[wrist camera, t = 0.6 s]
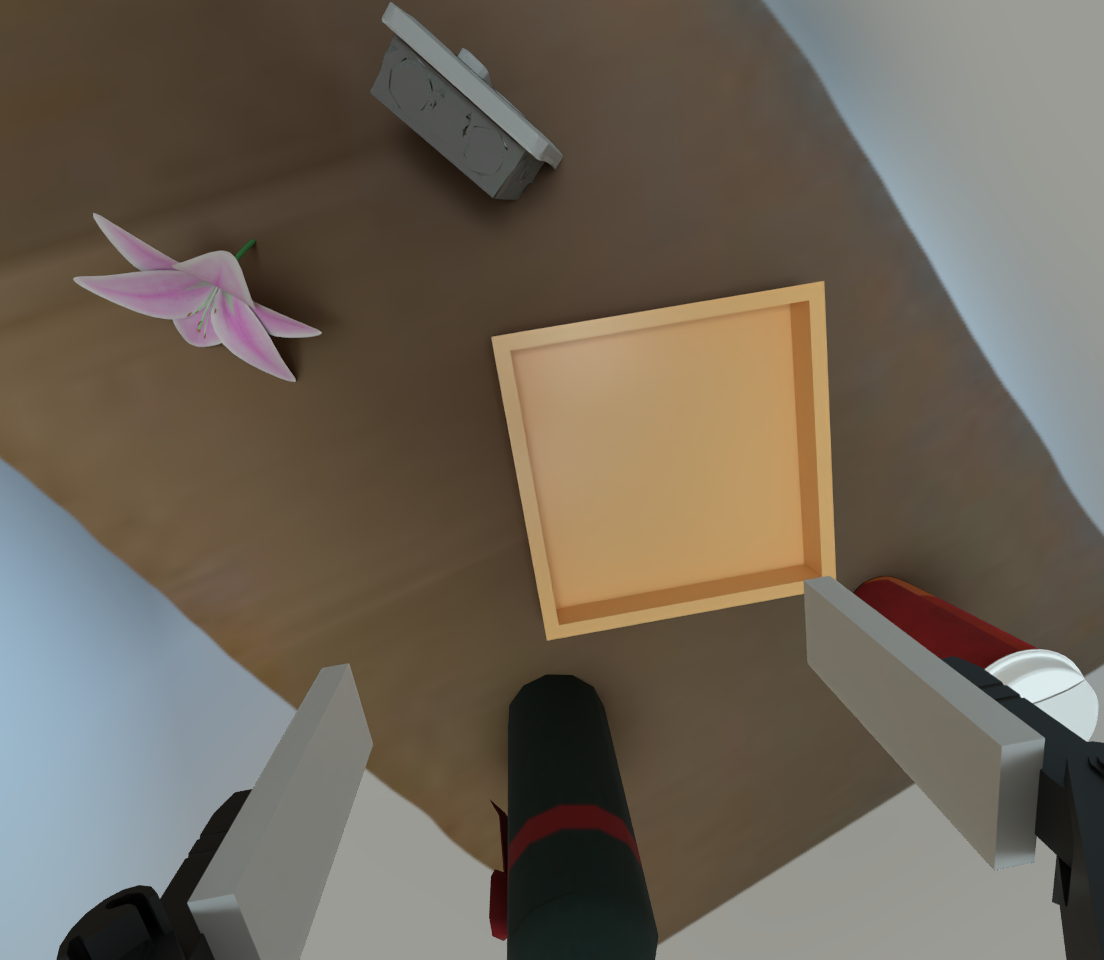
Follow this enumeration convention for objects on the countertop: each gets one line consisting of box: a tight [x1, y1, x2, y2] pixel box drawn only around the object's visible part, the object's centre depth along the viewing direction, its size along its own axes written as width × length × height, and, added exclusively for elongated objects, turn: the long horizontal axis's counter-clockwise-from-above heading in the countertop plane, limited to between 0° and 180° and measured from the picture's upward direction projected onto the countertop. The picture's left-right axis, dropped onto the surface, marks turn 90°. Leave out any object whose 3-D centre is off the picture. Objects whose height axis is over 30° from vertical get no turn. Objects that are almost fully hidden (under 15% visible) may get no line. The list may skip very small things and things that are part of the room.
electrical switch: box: [370, 2, 563, 200], centre depth 30 cm, size 9×5×9 cm, turn 52°
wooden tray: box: [491, 281, 836, 641], centre depth 38 cm, size 21×21×4 cm
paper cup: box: [853, 576, 1099, 741], centre depth 37 cm, size 8×8×14 cm
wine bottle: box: [489, 675, 658, 960], centre depth 30 cm, size 8×10×30 cm
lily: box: [73, 213, 322, 382], centre depth 32 cm, size 12×12×10 cm
